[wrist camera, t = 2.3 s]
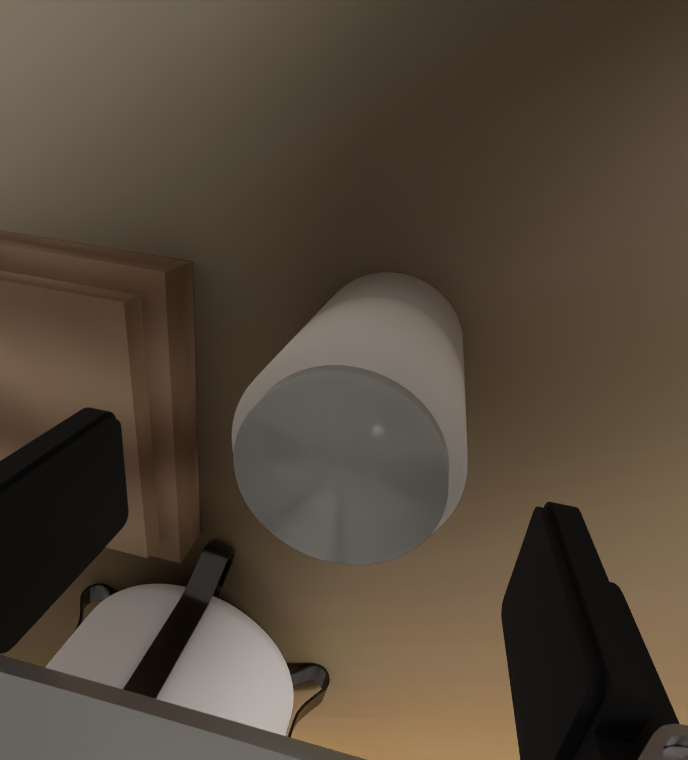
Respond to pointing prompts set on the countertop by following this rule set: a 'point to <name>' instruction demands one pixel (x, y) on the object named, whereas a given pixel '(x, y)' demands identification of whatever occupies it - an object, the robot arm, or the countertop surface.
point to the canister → (359, 425)
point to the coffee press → (188, 649)
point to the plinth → (107, 371)
